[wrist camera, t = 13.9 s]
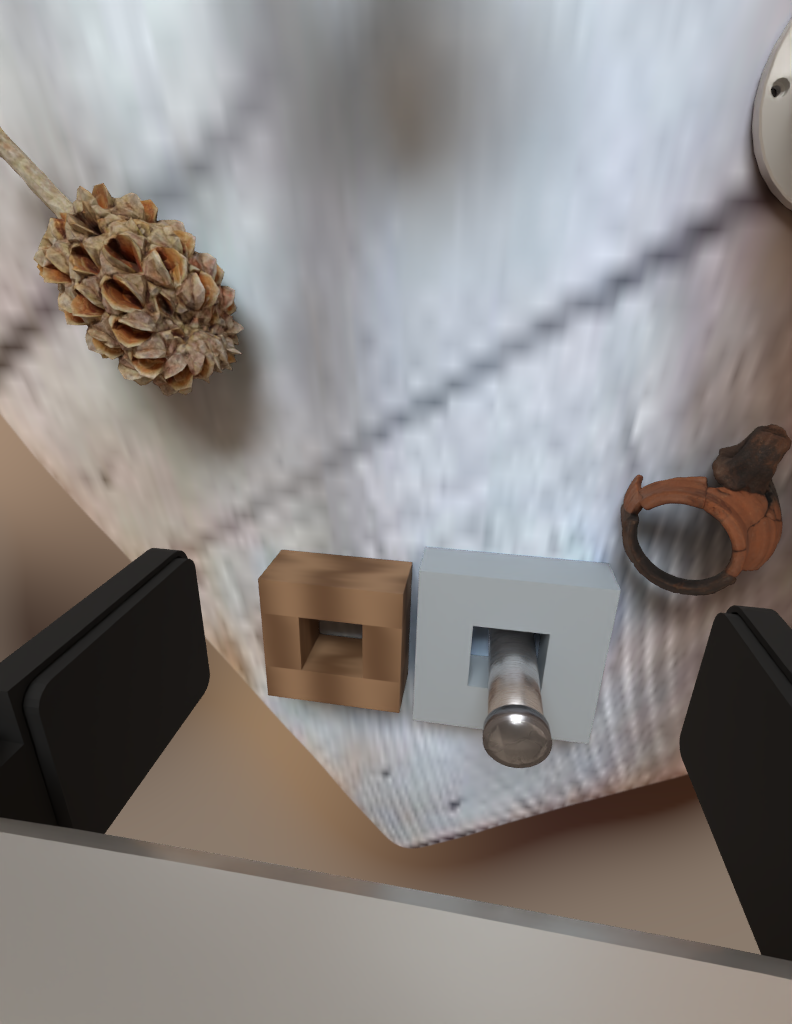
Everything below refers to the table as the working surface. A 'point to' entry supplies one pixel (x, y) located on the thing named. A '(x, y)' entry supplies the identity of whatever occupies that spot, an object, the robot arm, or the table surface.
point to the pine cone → (133, 283)
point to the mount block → (341, 598)
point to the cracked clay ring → (719, 509)
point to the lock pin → (515, 702)
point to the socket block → (512, 606)
